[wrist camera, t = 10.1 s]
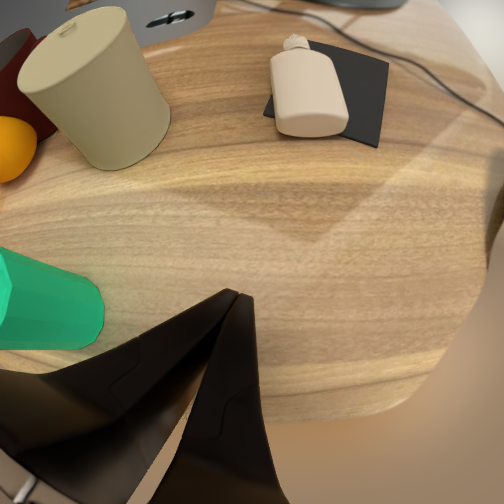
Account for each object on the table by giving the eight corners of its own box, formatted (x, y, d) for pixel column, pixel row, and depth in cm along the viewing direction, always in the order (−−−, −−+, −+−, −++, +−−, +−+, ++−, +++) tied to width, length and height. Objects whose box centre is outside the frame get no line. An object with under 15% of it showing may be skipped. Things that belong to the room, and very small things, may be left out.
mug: (107, 73, 28) (68, 4, 18) (89, 132, 26) (30, 61, 15) (33, 99, 29) (-11, 49, 18) (11, 156, 27) (-47, 108, 16)
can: (156, 79, 27) (116, -11, 16) (184, 138, 25) (136, 30, 13) (79, 122, 27) (18, 49, 15) (92, 189, 24) (7, 112, 13)
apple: (0, 155, 27) (-36, 126, 20) (45, 118, 28) (11, 81, 21) (1, 204, 25) (-44, 177, 18) (49, 165, 26) (6, 127, 19)
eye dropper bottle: (292, 148, 25) (278, 59, 28) (355, 130, 22) (327, 41, 25) (267, 122, 22) (257, 32, 25) (339, 99, 19) (310, 11, 22)
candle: (93, 361, 21) (-26, 369, 9) (42, 331, 22) (-68, 318, 10) (114, 289, 22) (-1, 251, 10) (61, 266, 23) (-46, 223, 11)
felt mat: (377, 148, 23) (378, 146, 23) (263, 115, 25) (263, 113, 25) (388, 64, 26) (388, 62, 26) (297, 39, 27) (297, 37, 27)
